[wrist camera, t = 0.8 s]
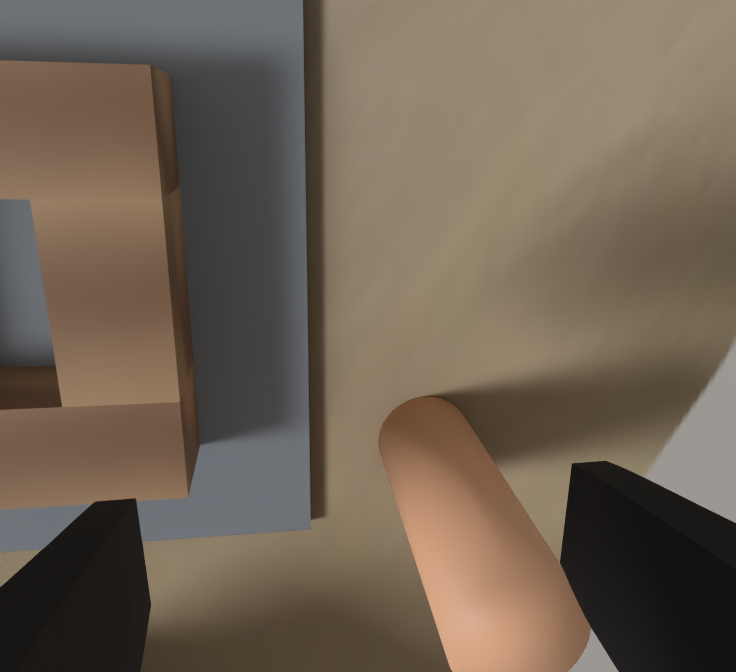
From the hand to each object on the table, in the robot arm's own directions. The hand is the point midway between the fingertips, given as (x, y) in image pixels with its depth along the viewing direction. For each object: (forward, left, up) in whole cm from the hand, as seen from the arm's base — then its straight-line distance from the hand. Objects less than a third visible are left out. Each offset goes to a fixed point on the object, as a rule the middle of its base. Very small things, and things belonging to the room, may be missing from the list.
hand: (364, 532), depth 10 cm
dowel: (-4, -4, -10) cm, 12 cm away
